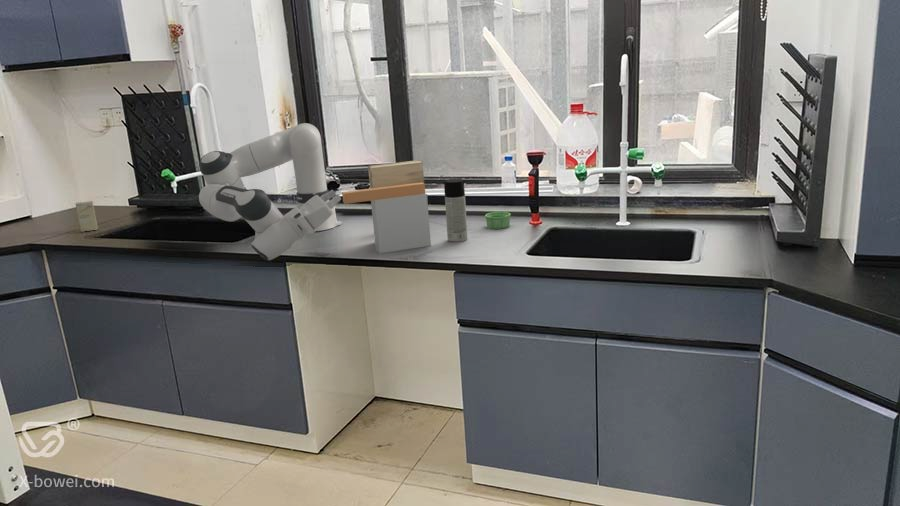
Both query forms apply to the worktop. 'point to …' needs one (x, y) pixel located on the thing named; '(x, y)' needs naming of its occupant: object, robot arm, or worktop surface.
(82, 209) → the skincare box
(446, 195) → the spray can
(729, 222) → the worktop surface
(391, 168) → the beige rectangular block
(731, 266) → the worktop surface
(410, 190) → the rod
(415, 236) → the base
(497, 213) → the ramekin
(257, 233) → the robot arm
